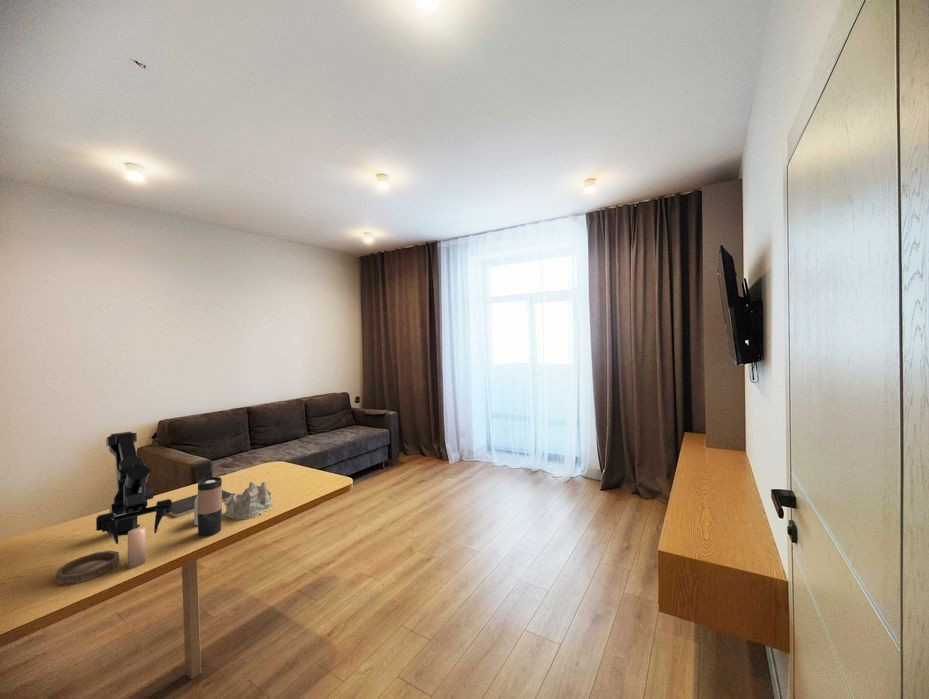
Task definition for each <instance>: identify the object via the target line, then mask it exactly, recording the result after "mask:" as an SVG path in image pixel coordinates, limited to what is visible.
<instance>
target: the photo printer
mask: <svg viewBox="0 0 929 699" xmlns="http://www.w3.org/2000/svg"><path fill="white" fill-rule="evenodd" d="M197 511H198V496H197V497H196V499H195V507H194V512H193V513H194V514H193V515H194V516H193V518H194V522H193V523H194V525H195V526H198V514H197Z"/></svg>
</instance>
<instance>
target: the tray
mask: <svg viewBox="0 0 929 699" xmlns="http://www.w3.org/2000/svg"><path fill="white" fill-rule="evenodd" d="M119 562H120V552H119V551H115V550H104V551H97V552H96V551H95V552H93V553H91V554H87V555H82V556H79V557H78V558H75V559H73V560H71V561H69V562H67V563H65V564H64V565H62V566H61V567H59V568H58V569H57V570H56V574H55V575H56V577H55V580H56V583H57V584H58V585H64V584H67V585H74V584H79V583H83V582H87V581H90V580H93V579H95V578H98V577H101V576H103V575H104V574H106V573H108V572H110V571H112V570H114V568H116V567H117V566H118V565H119Z"/></svg>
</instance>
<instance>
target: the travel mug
mask: <svg viewBox="0 0 929 699" xmlns="http://www.w3.org/2000/svg"><path fill="white" fill-rule="evenodd" d="M222 482H223V480H222V477H219V476H218V477H217V476H215V477H214V476H212V477H207V478H204V479H201V480H199V481H198V482H197V494H198V511H197V514H198V525H197V534H198V537H201V538H205V537H210V536H214V535H217V534H218V533H220V532H221V530H222V514H223V513H222V511H223V502H222V490H223V489H222V488H223V485H222V484H223V483H222Z"/></svg>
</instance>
